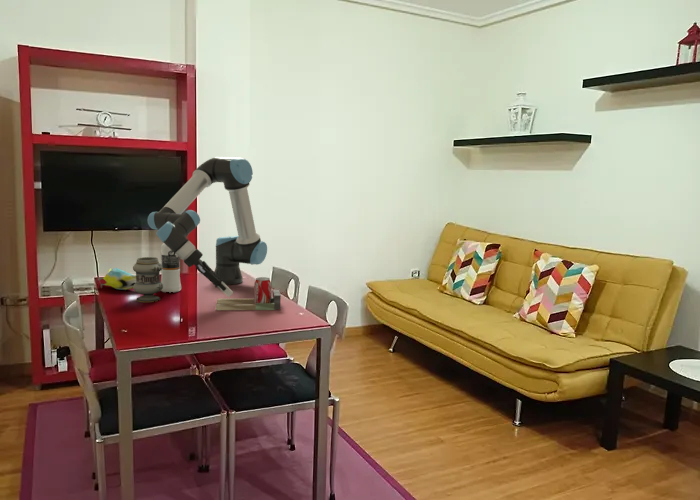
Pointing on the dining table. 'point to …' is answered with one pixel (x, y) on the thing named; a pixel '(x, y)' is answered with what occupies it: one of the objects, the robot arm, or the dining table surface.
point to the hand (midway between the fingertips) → (230, 294)
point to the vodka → (170, 270)
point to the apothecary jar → (147, 278)
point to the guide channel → (249, 303)
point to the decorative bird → (119, 279)
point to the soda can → (262, 290)
